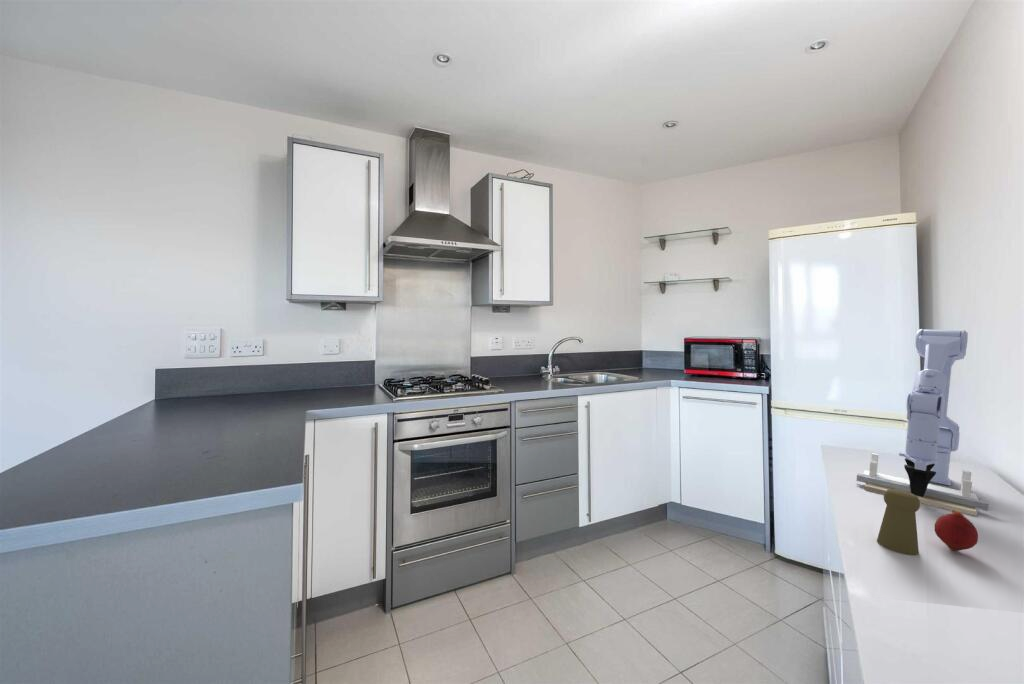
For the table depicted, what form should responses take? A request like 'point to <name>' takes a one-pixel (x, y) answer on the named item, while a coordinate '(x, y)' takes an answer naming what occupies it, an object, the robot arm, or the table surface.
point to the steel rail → (928, 493)
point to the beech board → (929, 501)
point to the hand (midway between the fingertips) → (917, 491)
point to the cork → (900, 522)
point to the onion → (956, 531)
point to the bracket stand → (965, 484)
